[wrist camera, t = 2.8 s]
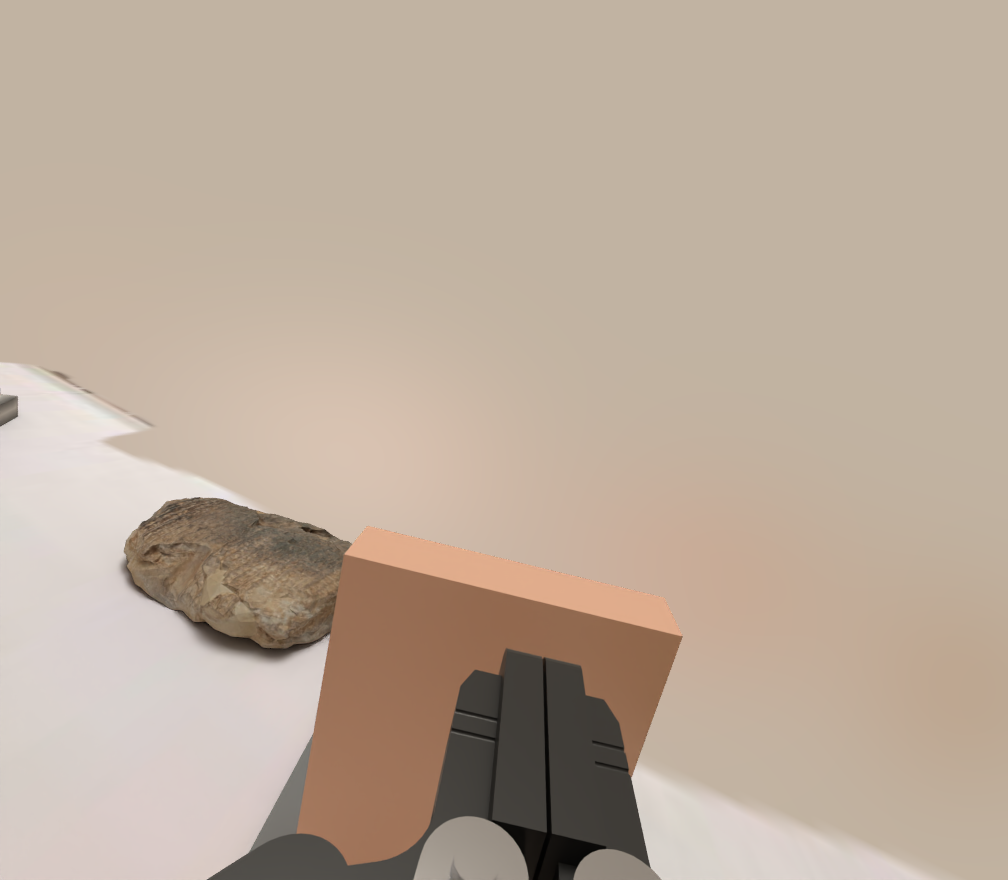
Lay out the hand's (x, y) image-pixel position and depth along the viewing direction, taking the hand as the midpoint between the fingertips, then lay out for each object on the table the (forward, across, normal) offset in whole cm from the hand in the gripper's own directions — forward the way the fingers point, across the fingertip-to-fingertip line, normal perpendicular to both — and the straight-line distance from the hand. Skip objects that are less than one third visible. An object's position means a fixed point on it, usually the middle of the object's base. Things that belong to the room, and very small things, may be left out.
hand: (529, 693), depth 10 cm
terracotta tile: (+8, 0, +17) cm, 19 cm away
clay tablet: (+28, +20, +18) cm, 38 cm away
